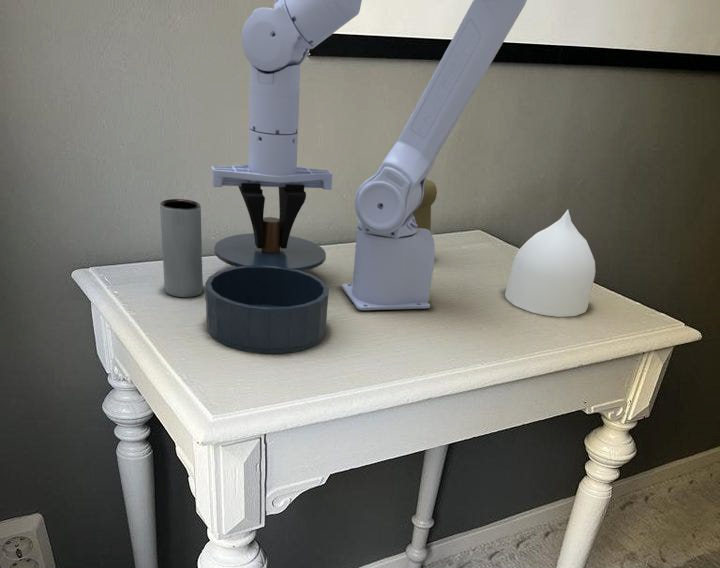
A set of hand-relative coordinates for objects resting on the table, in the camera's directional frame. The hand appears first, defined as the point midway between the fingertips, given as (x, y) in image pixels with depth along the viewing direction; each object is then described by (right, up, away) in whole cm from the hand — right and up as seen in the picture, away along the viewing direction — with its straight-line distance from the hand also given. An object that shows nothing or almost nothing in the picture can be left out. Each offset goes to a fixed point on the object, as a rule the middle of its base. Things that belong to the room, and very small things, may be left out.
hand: (271, 246), depth 94 cm
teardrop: (+36, -6, +5) cm, 37 cm away
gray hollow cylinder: (-10, -7, -4) cm, 13 cm away
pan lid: (0, -1, +1) cm, 1 cm away
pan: (+1, -13, -11) cm, 17 cm away
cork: (+19, +3, +15) cm, 24 cm away
